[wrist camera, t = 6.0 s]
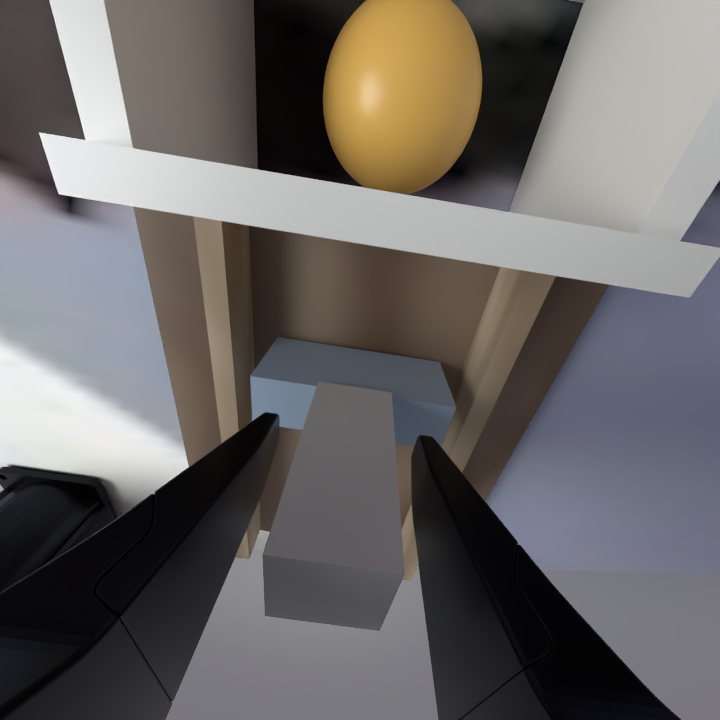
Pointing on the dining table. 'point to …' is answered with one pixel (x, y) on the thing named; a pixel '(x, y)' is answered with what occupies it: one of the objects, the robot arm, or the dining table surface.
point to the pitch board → (353, 336)
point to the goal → (399, 211)
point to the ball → (402, 92)
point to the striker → (343, 475)
